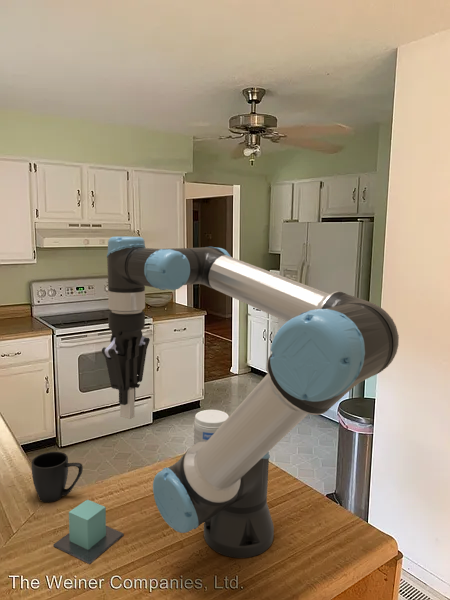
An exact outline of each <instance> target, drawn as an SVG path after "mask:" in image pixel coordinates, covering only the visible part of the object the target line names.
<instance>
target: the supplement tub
mask: <svg viewBox="0 0 450 600" xmlns="http://www.w3.org/2000/svg"><path fill="white" fill-rule="evenodd" d="M194 416H195V417H194V423H193V424H194V428H193V445H194V444H196V443H198V442H204V441H206V442H207V441H208V440H209V438H210V437H211V436H212V435H213V434H214V433H215V432H216V431H217V430H218V428H219V427H220V426H221V425H222V424H223V423H224V422H225V421H226V420H227V418H228V417H229V416H230V415H229V414H228V413H227V412H225V411H223V410H219V409H205V410H201V411H198V412H197V413H196V414H195V415H194Z"/></svg>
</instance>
